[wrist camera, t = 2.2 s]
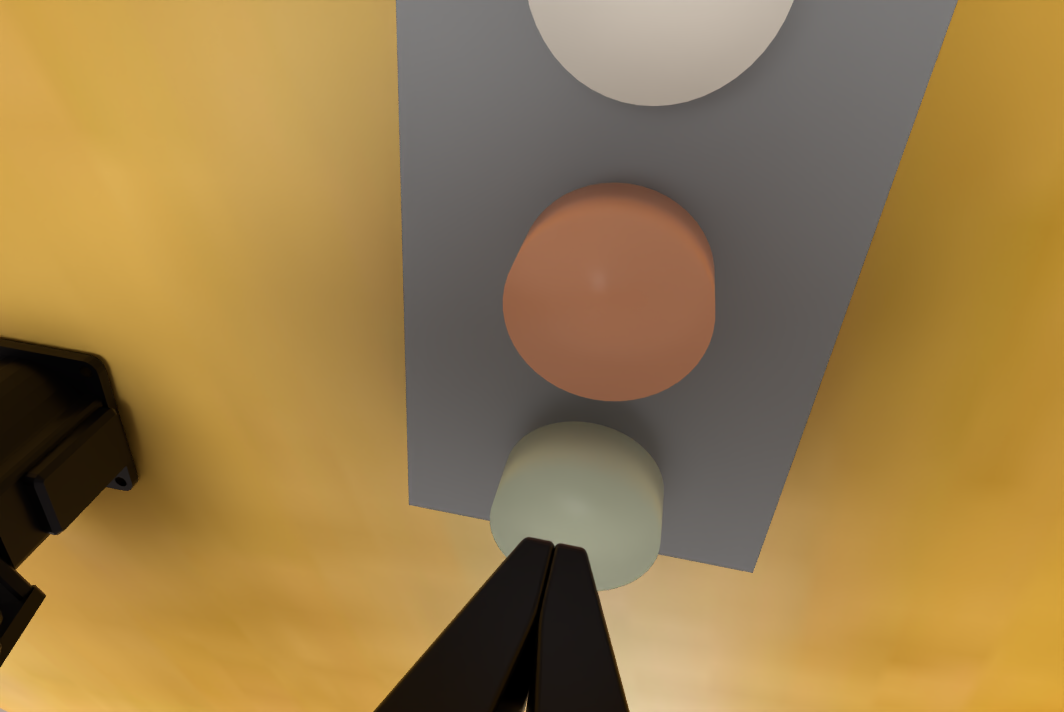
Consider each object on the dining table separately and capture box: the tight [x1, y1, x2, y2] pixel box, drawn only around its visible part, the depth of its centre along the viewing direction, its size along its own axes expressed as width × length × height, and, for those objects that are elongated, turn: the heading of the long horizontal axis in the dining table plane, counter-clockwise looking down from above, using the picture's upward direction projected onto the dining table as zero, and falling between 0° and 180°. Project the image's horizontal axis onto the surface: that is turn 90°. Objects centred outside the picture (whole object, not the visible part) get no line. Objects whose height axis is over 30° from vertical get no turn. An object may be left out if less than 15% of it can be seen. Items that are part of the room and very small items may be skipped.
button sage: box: [490, 421, 664, 591], centre depth 20 cm, size 4×4×2 cm
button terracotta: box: [503, 183, 715, 401], centre depth 16 cm, size 4×4×2 cm
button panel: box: [396, 0, 958, 573], centre depth 19 cm, size 11×20×3 cm, turn 175°
